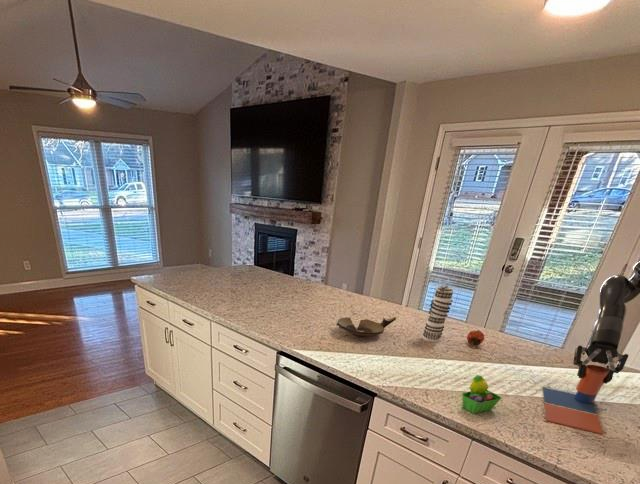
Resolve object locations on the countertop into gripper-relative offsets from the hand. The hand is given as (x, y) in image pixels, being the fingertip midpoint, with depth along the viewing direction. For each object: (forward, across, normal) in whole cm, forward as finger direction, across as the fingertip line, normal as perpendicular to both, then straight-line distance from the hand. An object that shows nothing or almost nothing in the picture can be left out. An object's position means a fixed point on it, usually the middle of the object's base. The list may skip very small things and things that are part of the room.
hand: (593, 379), depth 133 cm
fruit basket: (+17, -30, +5) cm, 35 cm away
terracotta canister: (+2, 0, +4) cm, 5 cm away
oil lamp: (-19, -85, +42) cm, 97 cm away
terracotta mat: (+10, 0, +12) cm, 15 cm away
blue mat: (-1, 0, +22) cm, 22 cm away
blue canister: (-3, +5, +24) cm, 25 cm away
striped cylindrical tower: (-29, -55, +51) cm, 80 cm away
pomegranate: (-31, -36, +53) cm, 71 cm away
